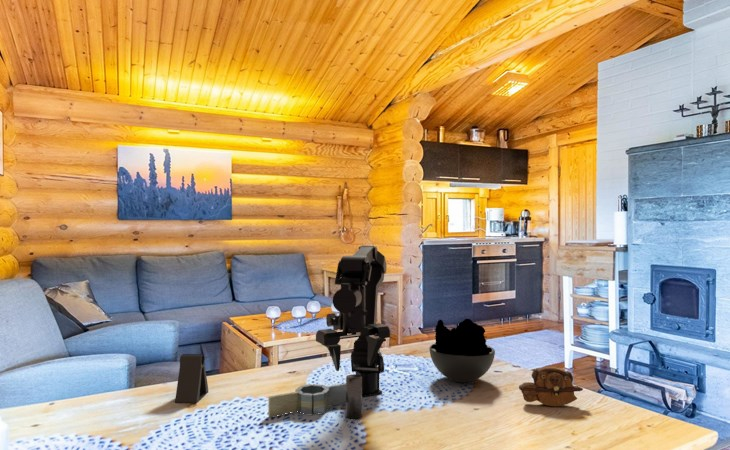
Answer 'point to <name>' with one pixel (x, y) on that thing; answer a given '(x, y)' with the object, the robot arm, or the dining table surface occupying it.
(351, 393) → the hinge pin
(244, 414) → the dining table surface
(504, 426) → the dining table surface
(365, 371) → the robot arm
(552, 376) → the wooden carving
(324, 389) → the hinge
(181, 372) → the phone stand
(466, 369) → the coal bowl
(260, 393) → the dining table surface
